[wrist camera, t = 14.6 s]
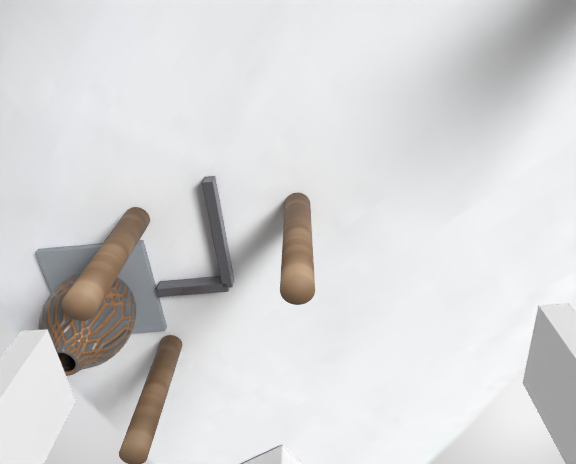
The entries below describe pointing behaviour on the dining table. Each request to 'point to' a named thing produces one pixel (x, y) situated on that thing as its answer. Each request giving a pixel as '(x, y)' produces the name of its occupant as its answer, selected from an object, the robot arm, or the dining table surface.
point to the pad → (134, 274)
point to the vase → (89, 327)
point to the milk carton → (275, 457)
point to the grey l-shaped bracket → (221, 251)
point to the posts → (146, 416)
